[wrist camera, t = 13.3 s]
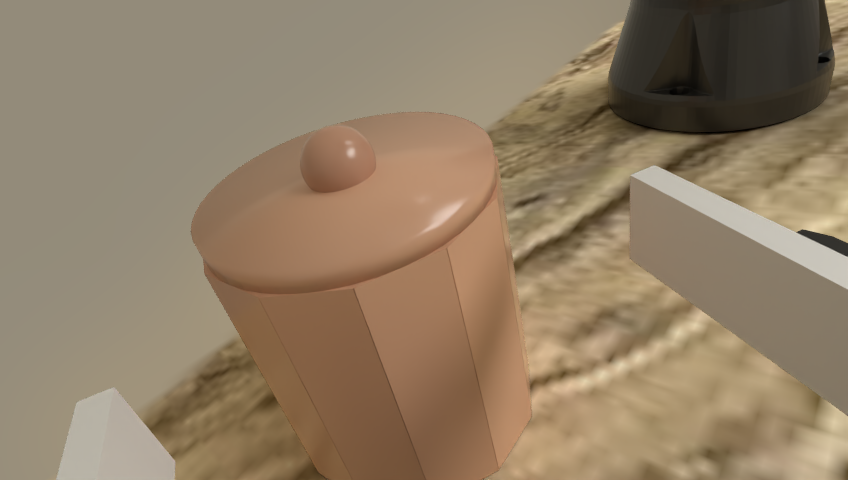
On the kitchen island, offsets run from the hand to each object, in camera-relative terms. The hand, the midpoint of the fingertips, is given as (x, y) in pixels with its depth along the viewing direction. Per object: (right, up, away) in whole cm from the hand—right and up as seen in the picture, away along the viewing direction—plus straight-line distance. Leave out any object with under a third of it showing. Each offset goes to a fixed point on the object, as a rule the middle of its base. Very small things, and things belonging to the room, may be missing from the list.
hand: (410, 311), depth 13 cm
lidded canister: (0, -5, +10) cm, 11 cm away
